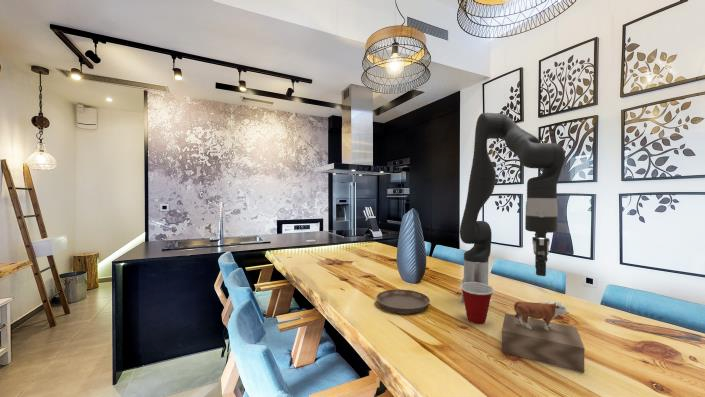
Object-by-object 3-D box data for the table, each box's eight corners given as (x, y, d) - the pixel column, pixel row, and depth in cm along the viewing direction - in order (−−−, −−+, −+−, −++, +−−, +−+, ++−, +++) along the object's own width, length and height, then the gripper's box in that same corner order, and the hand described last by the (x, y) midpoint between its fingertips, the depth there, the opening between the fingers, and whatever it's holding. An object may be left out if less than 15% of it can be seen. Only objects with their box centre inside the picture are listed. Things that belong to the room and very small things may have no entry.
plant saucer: (407, 321, 99) (407, 311, 99) (365, 304, 115) (365, 296, 115) (440, 307, 113) (440, 298, 113) (398, 293, 128) (398, 286, 128)
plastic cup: (459, 324, 97) (460, 289, 97) (459, 312, 107) (459, 280, 107) (495, 330, 93) (496, 293, 93) (491, 317, 103) (492, 283, 103)
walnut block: (501, 351, 80) (501, 330, 80) (504, 332, 92) (505, 313, 92) (584, 372, 70) (584, 348, 70) (576, 347, 82) (576, 326, 82)
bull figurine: (571, 335, 77) (571, 304, 77) (515, 328, 81) (515, 299, 81) (563, 328, 82) (564, 299, 82) (511, 322, 85) (511, 294, 85)
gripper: (525, 212, 89) (524, 265, 89) (525, 215, 77) (524, 275, 77) (555, 213, 85) (554, 268, 85) (559, 216, 73) (558, 280, 73)
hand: (540, 272), depth 81 cm, fingers open, 8 cm apart
